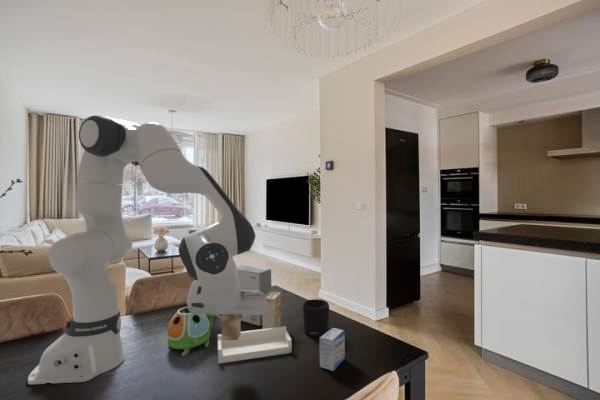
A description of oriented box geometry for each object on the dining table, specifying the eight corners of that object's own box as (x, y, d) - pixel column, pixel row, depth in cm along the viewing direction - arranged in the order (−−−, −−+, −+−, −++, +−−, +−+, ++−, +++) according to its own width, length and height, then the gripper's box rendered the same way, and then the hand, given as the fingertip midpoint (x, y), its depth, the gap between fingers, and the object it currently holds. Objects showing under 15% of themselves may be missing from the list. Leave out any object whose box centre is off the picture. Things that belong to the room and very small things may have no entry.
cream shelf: (218, 363, 90) (218, 346, 90) (217, 350, 97) (217, 334, 97) (291, 352, 96) (291, 336, 96) (285, 340, 103) (285, 326, 103)
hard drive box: (272, 319, 121) (272, 269, 121) (260, 326, 115) (259, 273, 114) (243, 311, 129) (242, 264, 129) (230, 318, 123) (229, 268, 123)
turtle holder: (228, 336, 107) (227, 302, 107) (184, 360, 92) (183, 320, 91) (203, 328, 114) (203, 296, 113) (158, 349, 98) (158, 312, 98)
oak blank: (221, 340, 84) (222, 303, 84) (225, 333, 88) (225, 298, 88) (237, 340, 84) (238, 303, 84) (240, 333, 88) (240, 298, 88)
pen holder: (297, 331, 111) (297, 303, 111) (316, 323, 117) (316, 297, 117) (315, 340, 104) (315, 310, 104) (334, 332, 110) (334, 304, 110)
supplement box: (275, 336, 107) (275, 298, 106) (262, 335, 108) (261, 298, 107) (281, 326, 115) (281, 291, 115) (269, 325, 116) (268, 290, 115)
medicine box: (333, 372, 85) (333, 340, 85) (319, 367, 87) (319, 337, 87) (345, 359, 92) (345, 330, 92) (331, 355, 94) (331, 326, 94)
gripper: (266, 281, 79) (269, 305, 89) (186, 280, 79) (198, 304, 89) (264, 304, 75) (268, 327, 85) (180, 303, 75) (193, 326, 85)
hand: (231, 315), depth 87 cm, fingers closed on oak blank, 4 cm apart
